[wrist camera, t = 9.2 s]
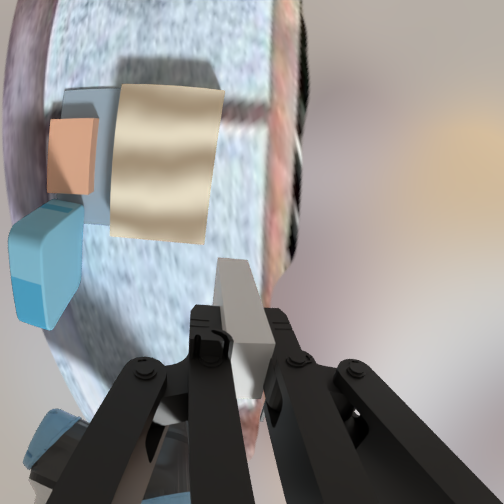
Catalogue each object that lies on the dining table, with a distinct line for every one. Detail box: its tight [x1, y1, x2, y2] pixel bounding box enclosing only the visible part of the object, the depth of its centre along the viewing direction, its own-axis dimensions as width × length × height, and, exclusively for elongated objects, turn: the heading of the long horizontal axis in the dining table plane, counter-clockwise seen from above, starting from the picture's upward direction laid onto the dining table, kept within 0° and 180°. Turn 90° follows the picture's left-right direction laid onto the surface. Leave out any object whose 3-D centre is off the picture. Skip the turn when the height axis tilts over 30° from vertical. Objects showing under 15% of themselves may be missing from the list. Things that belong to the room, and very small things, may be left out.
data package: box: [8, 199, 84, 330], centre depth 29 cm, size 12×4×12 cm, turn 164°
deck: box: [110, 84, 225, 245], centre depth 31 cm, size 17×11×4 cm, turn 170°
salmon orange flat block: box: [47, 118, 99, 195], centre depth 30 cm, size 9×6×2 cm, turn 170°
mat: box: [57, 88, 121, 226], centre depth 31 cm, size 17×9×1 cm, turn 170°
